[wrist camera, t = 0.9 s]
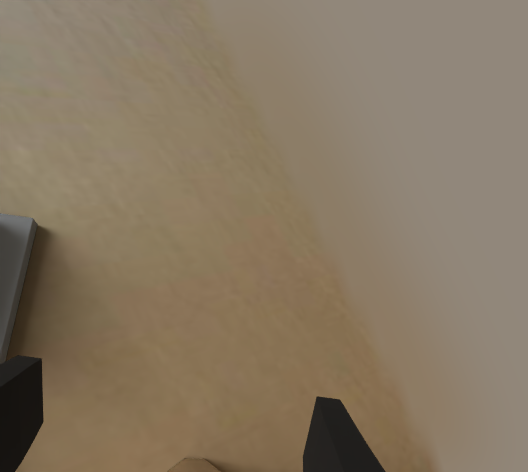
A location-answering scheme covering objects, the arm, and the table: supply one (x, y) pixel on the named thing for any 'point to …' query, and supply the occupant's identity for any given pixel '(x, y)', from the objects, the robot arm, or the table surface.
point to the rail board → (12, 270)
